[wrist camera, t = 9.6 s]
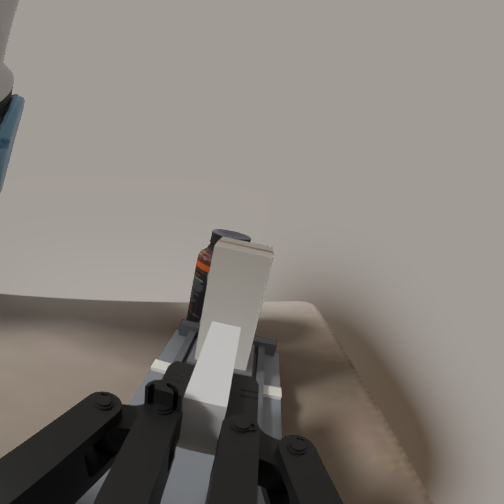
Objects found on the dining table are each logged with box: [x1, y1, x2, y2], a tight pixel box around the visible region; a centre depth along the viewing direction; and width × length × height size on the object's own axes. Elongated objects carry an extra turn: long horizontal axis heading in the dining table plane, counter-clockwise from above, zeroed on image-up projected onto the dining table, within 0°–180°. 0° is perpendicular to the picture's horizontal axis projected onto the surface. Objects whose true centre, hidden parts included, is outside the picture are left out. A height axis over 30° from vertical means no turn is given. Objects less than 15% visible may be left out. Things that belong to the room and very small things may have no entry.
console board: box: [75, 319, 282, 504], centre depth 17 cm, size 10×26×3 cm, turn 176°
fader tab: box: [186, 237, 273, 377], centre depth 25 cm, size 5×5×10 cm
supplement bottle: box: [187, 229, 251, 323], centre depth 34 cm, size 6×6×11 cm
